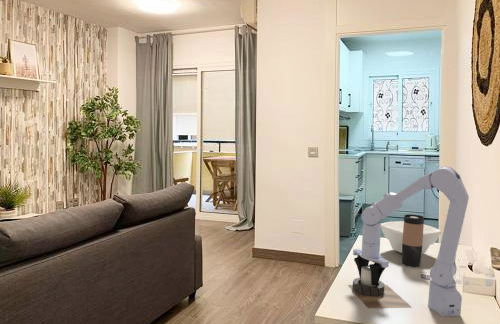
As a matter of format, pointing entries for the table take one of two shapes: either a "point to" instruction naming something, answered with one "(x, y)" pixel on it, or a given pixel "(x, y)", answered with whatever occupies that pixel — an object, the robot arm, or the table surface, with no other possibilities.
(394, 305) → the socket board
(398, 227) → the bowl
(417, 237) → the travel mug
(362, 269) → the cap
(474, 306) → the table surface
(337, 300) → the table surface
